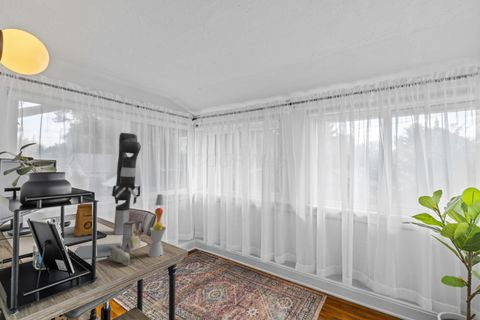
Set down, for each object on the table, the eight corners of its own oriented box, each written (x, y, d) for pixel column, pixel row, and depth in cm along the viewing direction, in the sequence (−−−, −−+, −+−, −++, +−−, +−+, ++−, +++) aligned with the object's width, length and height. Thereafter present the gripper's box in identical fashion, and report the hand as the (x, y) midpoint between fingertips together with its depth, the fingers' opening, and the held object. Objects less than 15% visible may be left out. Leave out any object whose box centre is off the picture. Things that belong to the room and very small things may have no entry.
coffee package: (97, 234, 152) (100, 203, 153) (75, 238, 143) (78, 205, 144) (93, 231, 159) (96, 201, 160) (72, 234, 150) (75, 202, 151)
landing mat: (78, 247, 128) (78, 246, 128) (120, 243, 138) (120, 242, 138) (70, 260, 110) (70, 259, 110) (119, 255, 120) (119, 254, 120)
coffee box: (131, 245, 137) (133, 219, 138) (140, 246, 136) (142, 220, 137) (120, 250, 128) (123, 223, 129) (130, 251, 127) (132, 224, 128)
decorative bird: (122, 268, 106) (124, 253, 107) (104, 260, 114) (105, 246, 115) (132, 264, 111) (134, 250, 112) (114, 256, 119) (115, 243, 119)
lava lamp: (145, 253, 126) (150, 193, 128) (160, 250, 132) (165, 193, 133) (150, 258, 119) (155, 195, 121) (166, 255, 125) (170, 195, 126)
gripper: (141, 175, 130) (139, 202, 129) (114, 174, 123) (111, 202, 123) (141, 176, 123) (139, 205, 122) (113, 175, 117) (110, 205, 116)
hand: (125, 203), depth 122 cm, fingers open, 8 cm apart
